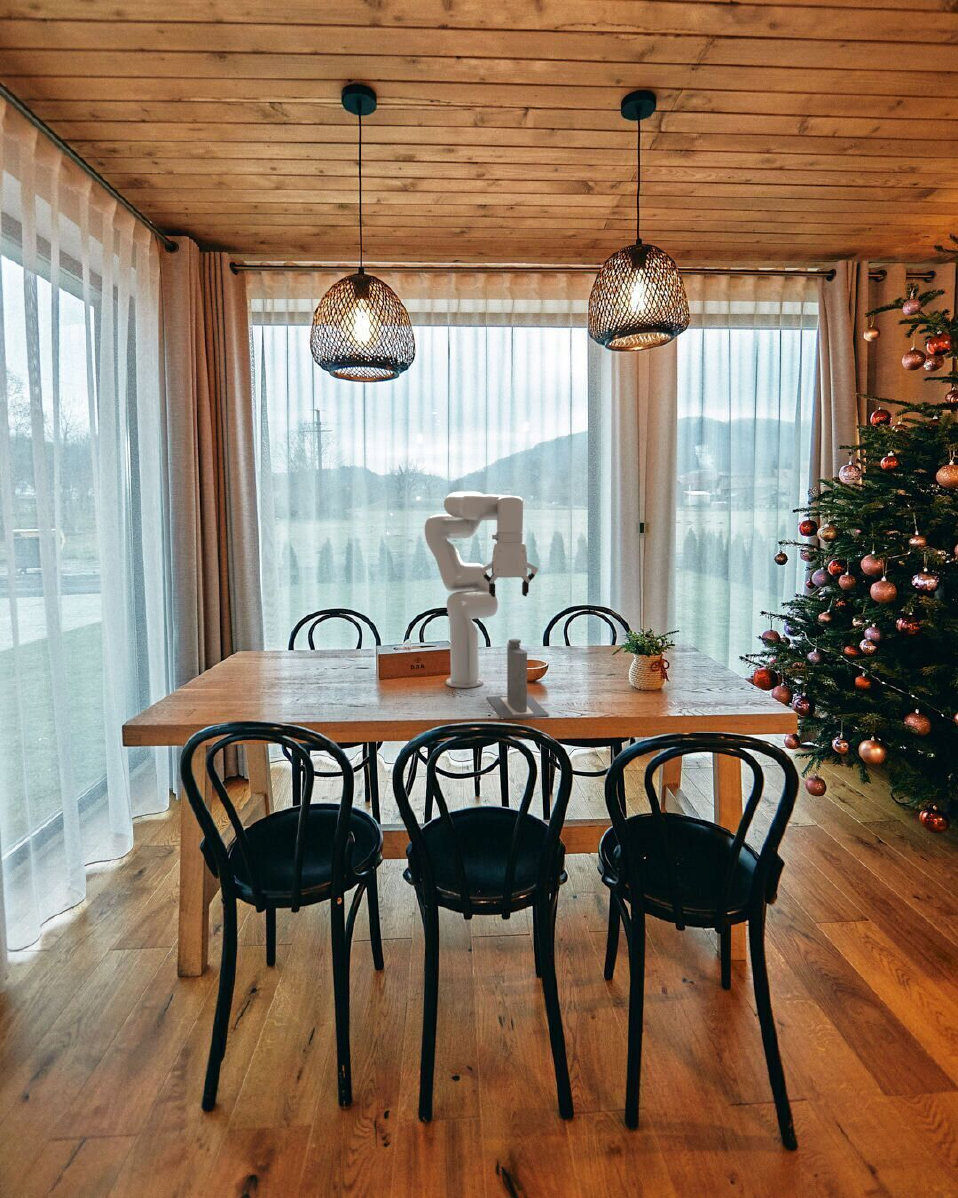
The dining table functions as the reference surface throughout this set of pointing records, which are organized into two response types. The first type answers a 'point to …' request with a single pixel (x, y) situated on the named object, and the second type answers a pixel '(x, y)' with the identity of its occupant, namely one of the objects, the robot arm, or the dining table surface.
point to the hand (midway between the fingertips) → (508, 596)
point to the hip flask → (516, 676)
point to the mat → (507, 712)
